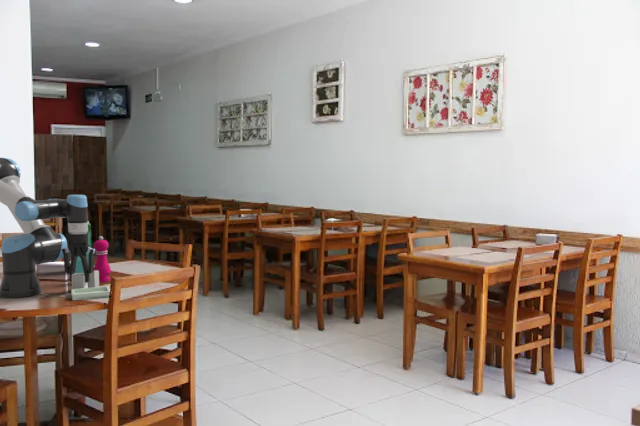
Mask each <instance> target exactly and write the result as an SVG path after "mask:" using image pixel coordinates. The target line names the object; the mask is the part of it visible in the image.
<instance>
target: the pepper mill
mask: <svg viewBox="0 0 640 426" xmlns="http://www.w3.org/2000/svg"><path fill="white" fill-rule="evenodd" d="M93 249H96V251H95V255H96V262H95V263H94V270H98V271H99V283H108V282H110V281H111V277H110V276H109V275H110V274H111V273H112V269H111V265H110V264H109V262H108V249H109V242H108V241H107V240H106V239H104V237H103V236H102V235H100V236H98V240H96V241H95V242H94V244H93Z"/></svg>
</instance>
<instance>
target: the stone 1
mask: <svg viewBox="0 0 640 426" xmlns="http://www.w3.org/2000/svg"><path fill="white" fill-rule="evenodd" d="M83 274H84V273H76V274H75V273H74V274H73V275H72V277H73V289H80V288H83Z"/></svg>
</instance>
